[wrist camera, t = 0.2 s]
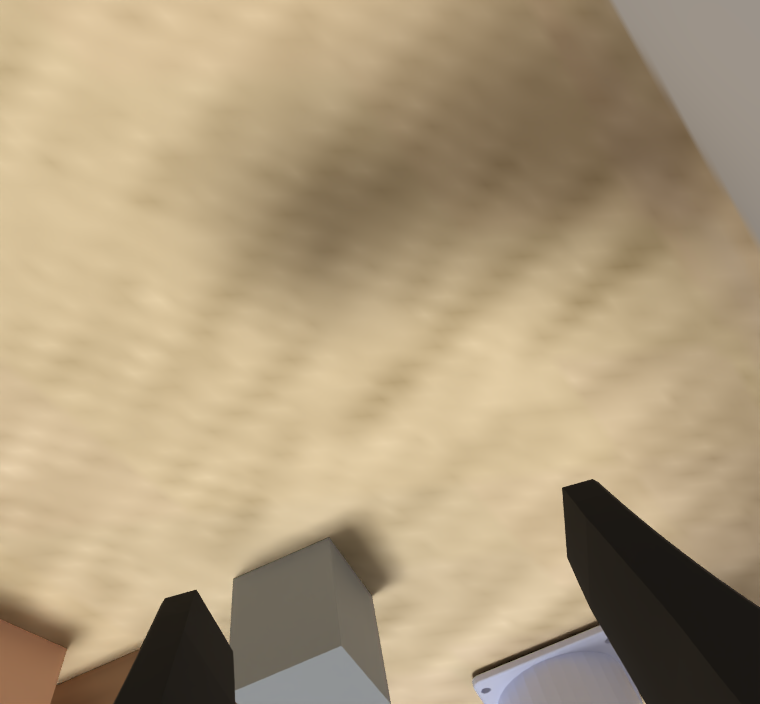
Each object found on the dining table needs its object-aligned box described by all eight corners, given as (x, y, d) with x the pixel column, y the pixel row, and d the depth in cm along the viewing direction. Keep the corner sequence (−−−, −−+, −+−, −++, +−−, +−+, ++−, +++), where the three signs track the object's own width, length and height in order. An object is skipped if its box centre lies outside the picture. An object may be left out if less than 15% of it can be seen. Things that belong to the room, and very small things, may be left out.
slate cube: (371, 595, 28) (391, 704, 23) (283, 632, 28) (286, 747, 24) (328, 536, 25) (341, 645, 21) (233, 577, 26) (226, 694, 21)
